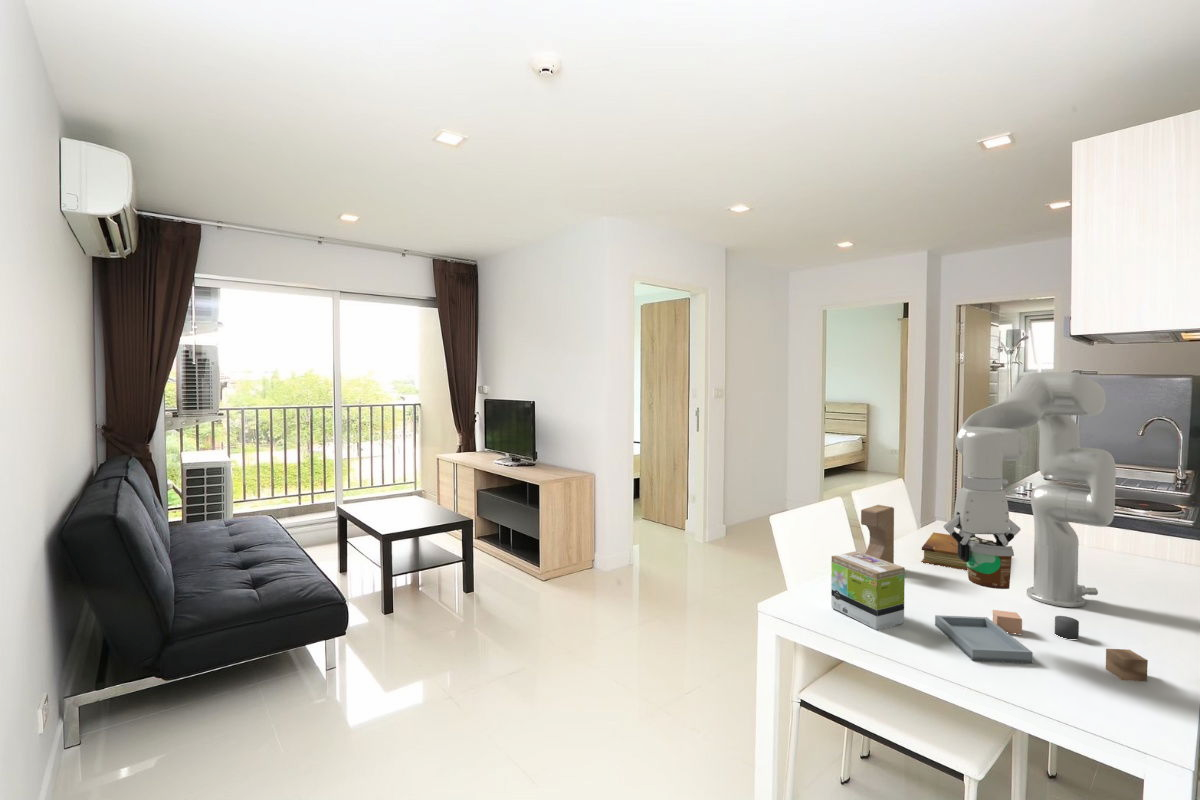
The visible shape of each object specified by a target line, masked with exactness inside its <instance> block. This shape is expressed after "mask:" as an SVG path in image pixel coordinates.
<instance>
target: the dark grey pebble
mask: <svg viewBox="0 0 1200 800" xmlns="http://www.w3.org/2000/svg"><path fill="white" fill-rule="evenodd" d="M1079 625H1080V621H1079V620H1077V619H1076V618H1073V617H1070V616H1067V615H1055V616H1054V635H1055V634H1056V635H1058V636H1060V637H1063V638H1067V639H1078V638H1079V636H1080V635H1079V634H1080V633H1079V632H1080V626H1079ZM1056 635H1055V636H1056ZM1058 636H1057V637H1058ZM1060 637H1059V638H1060ZM1063 638H1062V639H1063ZM1067 639H1066V640H1067ZM1078 640H1079V639H1078Z"/></svg>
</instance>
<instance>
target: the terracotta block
mask: <svg viewBox="0 0 1200 800" xmlns="http://www.w3.org/2000/svg"><path fill="white" fill-rule="evenodd" d="M992 621H993V622H994V623H995V624H996V625H998V626H999V627H1000V628H1002V629H1003V630H1004V631H1006V632H1008V634H1009V633H1016V634H1015V635H1017V634H1023V618H1022V617H1021V616H1020V614H1019V613H1018V612H1016V611H1015V612H1014V611H1005V610H999V609H992Z"/></svg>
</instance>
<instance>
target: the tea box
mask: <svg viewBox="0 0 1200 800" xmlns="http://www.w3.org/2000/svg"><path fill="white" fill-rule="evenodd" d="M830 567H831V579H830V581H831V584H830V585H831V587H830V589H831V595H830V597H831V600H830V601H831V608H832V609H833V610H836V611H838V612H841V613H842V614H844V615H846V616H848V617H850V618H853V619H854V620H856V621H858V622H860V623H862V624H864V625H865V626H868V627H869V628H871V629H873V630H875V631H879V630H884V629H887V628H891V627H894V626H898V625H902V624H904V622H905V583H906V582H905V578H906V577H905V570H906V569H905V567H903V566H901V565H899V564H898V565H897V564H896V563H894V564H893V563H890V562H887V561H884V560H882V559H879V558H876V557H873V556H870V555H868V554H865V552H862V551H859V550H855V551H851V552H846V553H841V554H836V555H831V565H830ZM890 626H891V627H890ZM886 627H887V628H886Z"/></svg>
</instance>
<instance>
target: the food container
mask: <svg viewBox="0 0 1200 800" xmlns="http://www.w3.org/2000/svg"><path fill="white" fill-rule="evenodd" d="M993 541H994V540H991V541H990V540H989V539H984V538H981V537H979V536H976V534H971V536H970V538H969V540H968V542H967V545H969V562H967V570H968V571H967V570H966V571H967V576H968V577H967V578H968V581H969V582H971V583H972V584H974V585H977V586H980V587H985V588H988V589H997V590H1009V589H1010V585H1011V584H1010V583H1011V571H1012V559H1013V558H1012V557H1015V554H1014V549H1013V545H1011V546H1010V545H1009V546H1008V545H1007V546H1000V545H998V544H996V543H995V542H996V541H994V542H993Z"/></svg>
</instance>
